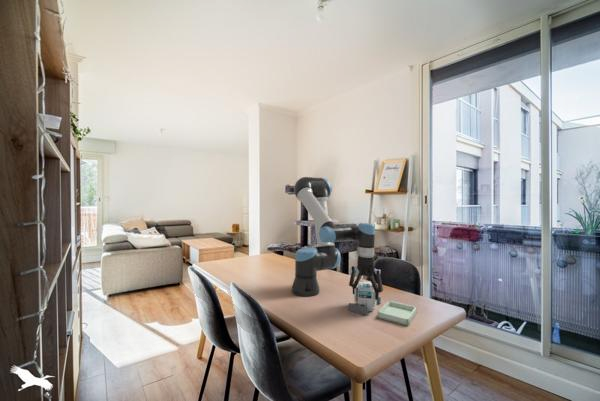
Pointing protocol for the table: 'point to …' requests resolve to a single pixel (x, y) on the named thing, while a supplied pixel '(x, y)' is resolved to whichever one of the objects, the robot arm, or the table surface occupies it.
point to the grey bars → (361, 308)
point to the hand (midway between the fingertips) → (365, 303)
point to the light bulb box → (365, 294)
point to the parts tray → (397, 312)
